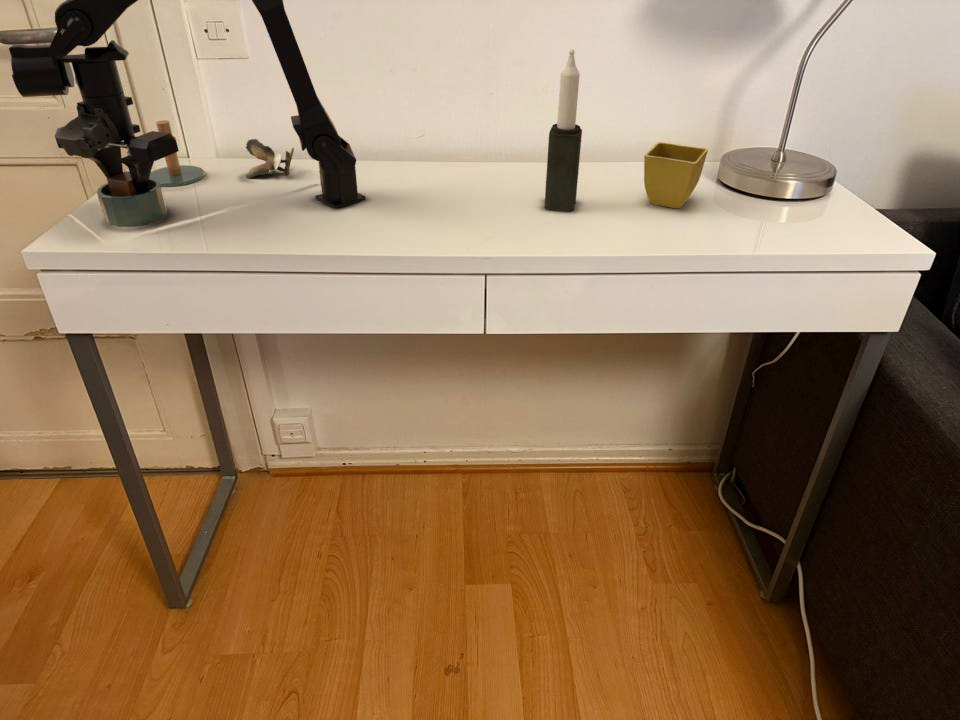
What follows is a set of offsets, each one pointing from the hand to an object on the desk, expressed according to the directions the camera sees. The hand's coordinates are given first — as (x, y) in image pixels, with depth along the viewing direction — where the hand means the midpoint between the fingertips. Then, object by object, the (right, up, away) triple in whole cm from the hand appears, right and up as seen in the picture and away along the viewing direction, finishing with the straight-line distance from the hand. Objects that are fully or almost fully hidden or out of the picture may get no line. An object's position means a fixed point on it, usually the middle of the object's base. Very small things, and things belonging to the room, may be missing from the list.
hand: (131, 194), depth 111 cm
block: (0, -1, +1) cm, 1 cm away
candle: (+70, 0, +9) cm, 70 cm away
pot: (0, -3, +2) cm, 4 cm away
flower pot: (+89, +1, +11) cm, 89 cm away
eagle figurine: (+16, +8, +20) cm, 27 cm away
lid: (0, +7, +17) cm, 18 cm away
